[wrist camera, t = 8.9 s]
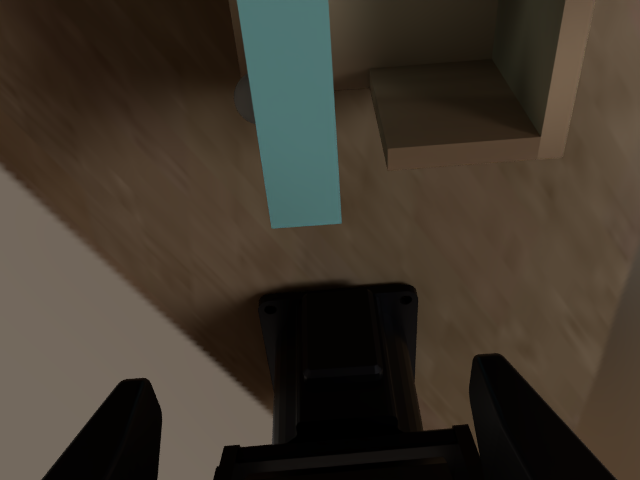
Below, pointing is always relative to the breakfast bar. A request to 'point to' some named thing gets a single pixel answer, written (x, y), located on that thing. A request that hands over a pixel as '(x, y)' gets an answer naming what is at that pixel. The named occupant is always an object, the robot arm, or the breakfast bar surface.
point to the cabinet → (459, 74)
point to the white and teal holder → (292, 107)
